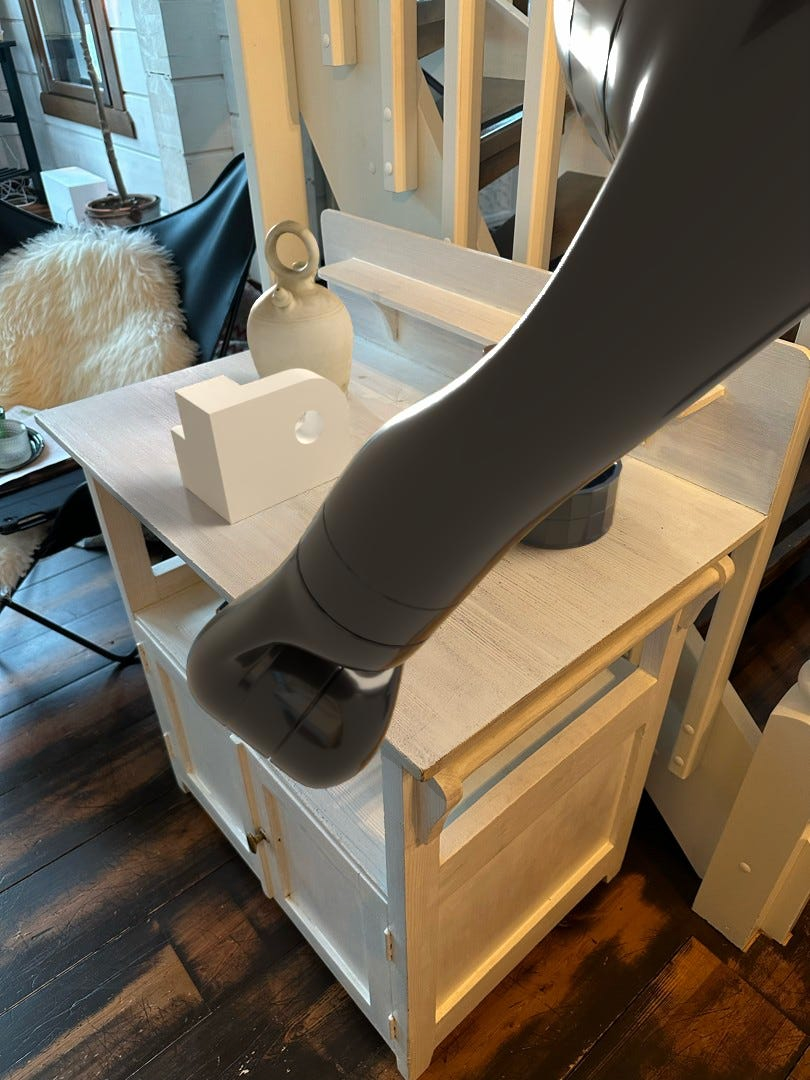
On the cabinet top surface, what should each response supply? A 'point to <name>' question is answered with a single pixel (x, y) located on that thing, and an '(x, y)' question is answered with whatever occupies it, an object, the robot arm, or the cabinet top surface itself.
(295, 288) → the jug
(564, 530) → the pot
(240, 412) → the tape dispenser
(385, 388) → the cabinet top surface
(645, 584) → the cabinet top surface
